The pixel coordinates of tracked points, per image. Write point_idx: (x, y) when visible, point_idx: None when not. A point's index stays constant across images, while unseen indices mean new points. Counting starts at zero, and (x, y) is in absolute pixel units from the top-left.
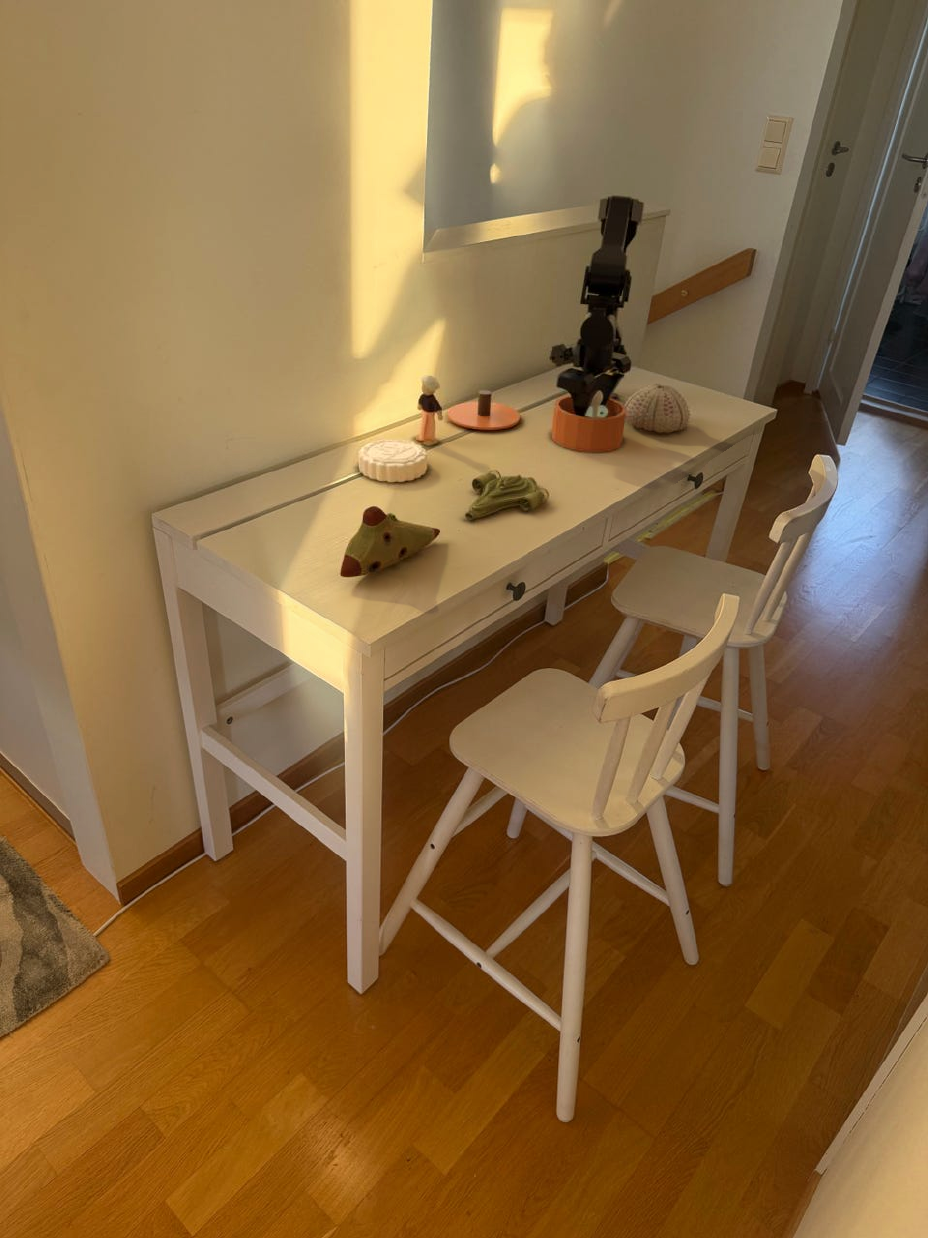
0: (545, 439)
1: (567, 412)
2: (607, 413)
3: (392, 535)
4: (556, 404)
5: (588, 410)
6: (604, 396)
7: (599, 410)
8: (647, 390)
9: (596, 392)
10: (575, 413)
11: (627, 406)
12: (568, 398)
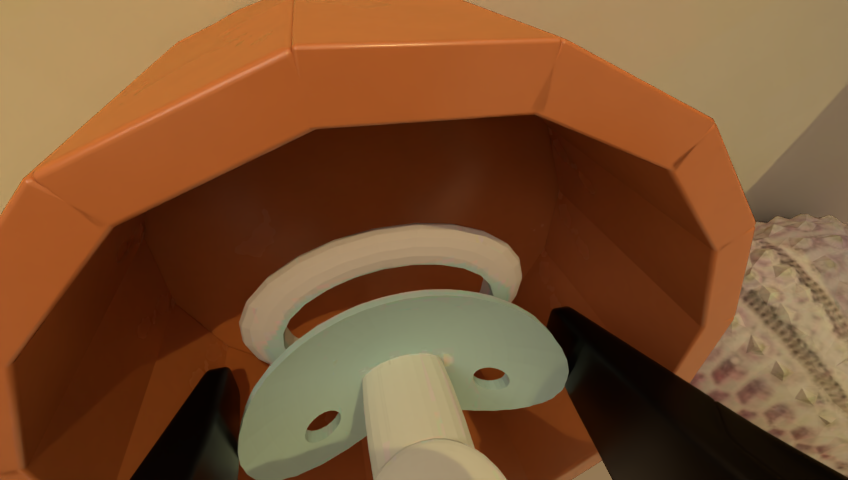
0: (76, 35)
1: (6, 459)
2: (486, 410)
3: None
4: (73, 205)
5: (475, 313)
6: (617, 450)
7: (511, 362)
8: (831, 440)
9: (665, 416)
10: (160, 437)
11: (742, 305)
12: (555, 121)
